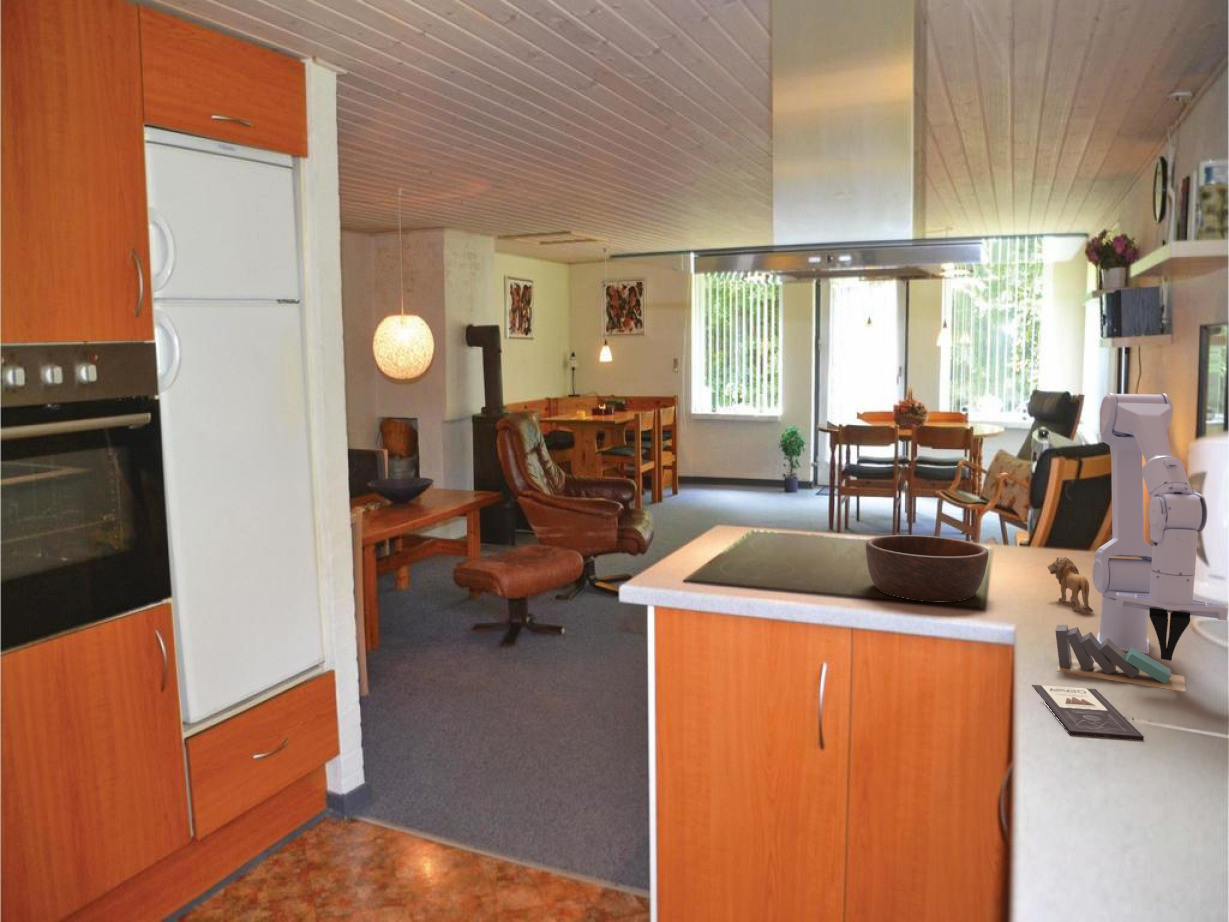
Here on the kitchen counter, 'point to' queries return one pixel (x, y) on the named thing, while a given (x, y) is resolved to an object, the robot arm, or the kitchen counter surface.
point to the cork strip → (1126, 676)
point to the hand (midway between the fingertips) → (1166, 658)
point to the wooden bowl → (926, 566)
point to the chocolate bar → (1087, 713)
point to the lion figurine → (1070, 581)
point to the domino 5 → (1148, 665)
